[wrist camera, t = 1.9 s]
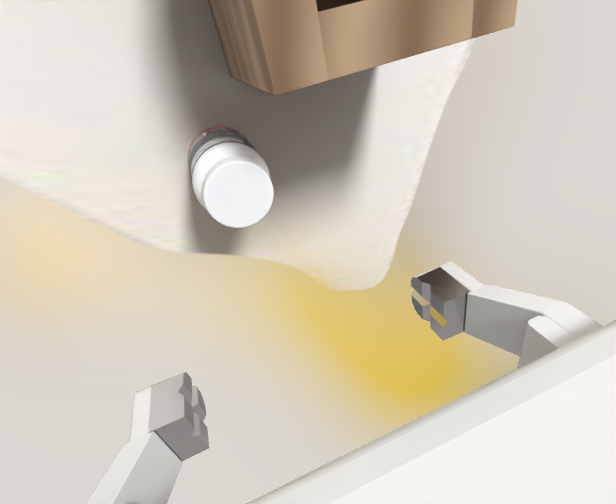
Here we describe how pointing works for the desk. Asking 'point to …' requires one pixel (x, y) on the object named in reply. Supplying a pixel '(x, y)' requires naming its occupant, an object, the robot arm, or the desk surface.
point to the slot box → (342, 35)
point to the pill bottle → (230, 177)
